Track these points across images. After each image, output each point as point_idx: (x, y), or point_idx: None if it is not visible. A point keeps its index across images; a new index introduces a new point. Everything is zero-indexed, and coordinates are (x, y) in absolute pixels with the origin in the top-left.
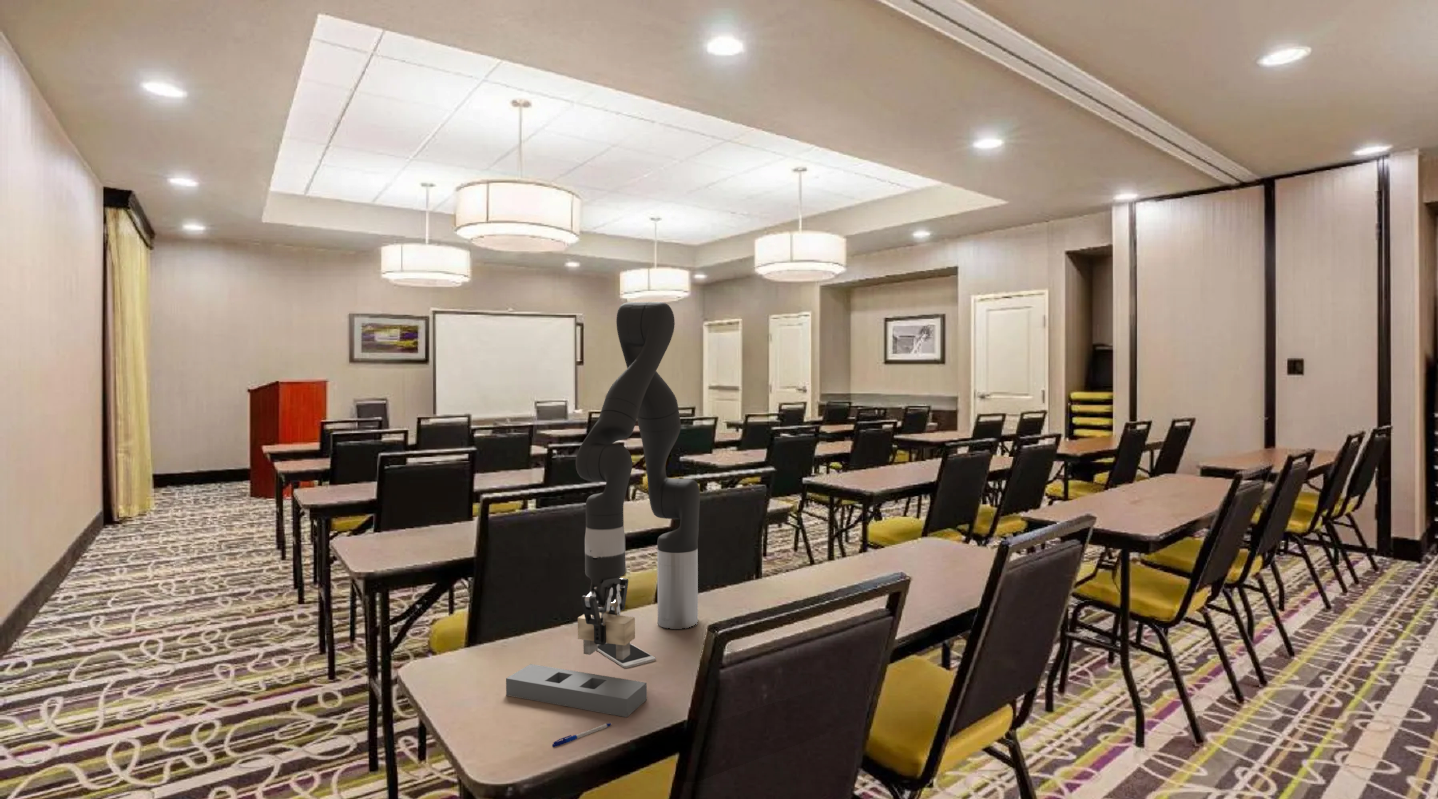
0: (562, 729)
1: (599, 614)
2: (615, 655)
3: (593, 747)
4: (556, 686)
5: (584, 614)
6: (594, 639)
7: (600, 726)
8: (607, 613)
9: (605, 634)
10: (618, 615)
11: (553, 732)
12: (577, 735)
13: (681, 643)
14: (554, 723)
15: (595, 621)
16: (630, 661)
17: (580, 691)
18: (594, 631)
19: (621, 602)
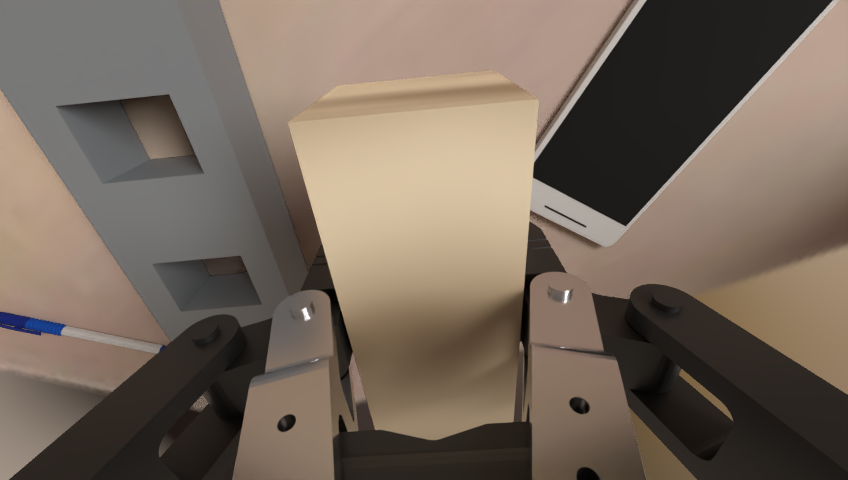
0: (56, 282)
1: (227, 467)
2: (605, 95)
3: (81, 372)
4: (75, 194)
5: (96, 407)
6: (321, 249)
7: (139, 349)
8: (527, 297)
9: None
10: (509, 374)
11: (25, 273)
12: (64, 335)
13: (786, 239)
14: (52, 245)
15: (204, 413)
16: (554, 190)
17: (134, 286)
18: (307, 281)
19: (649, 418)
